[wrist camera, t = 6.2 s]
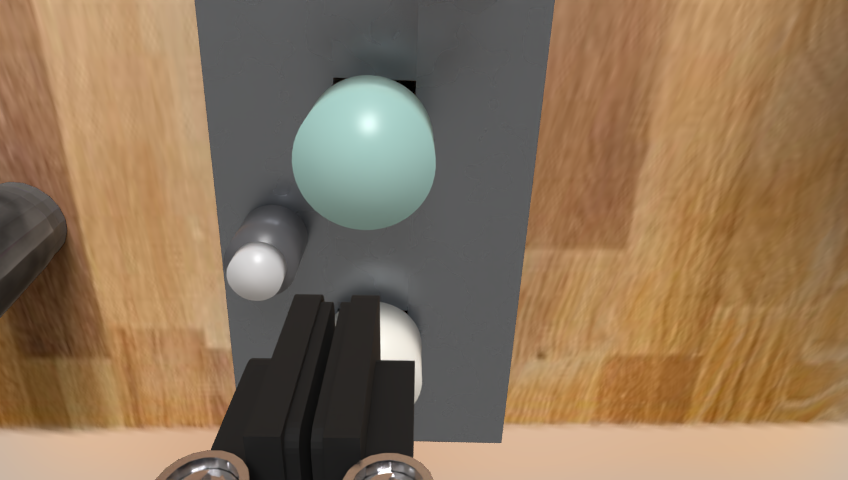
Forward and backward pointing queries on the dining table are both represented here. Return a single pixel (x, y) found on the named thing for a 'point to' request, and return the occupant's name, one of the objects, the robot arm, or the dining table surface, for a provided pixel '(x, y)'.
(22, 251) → the beverage cup
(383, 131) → the teal knob
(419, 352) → the cream knob
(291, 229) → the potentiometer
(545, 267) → the dining table surface
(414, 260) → the mount
